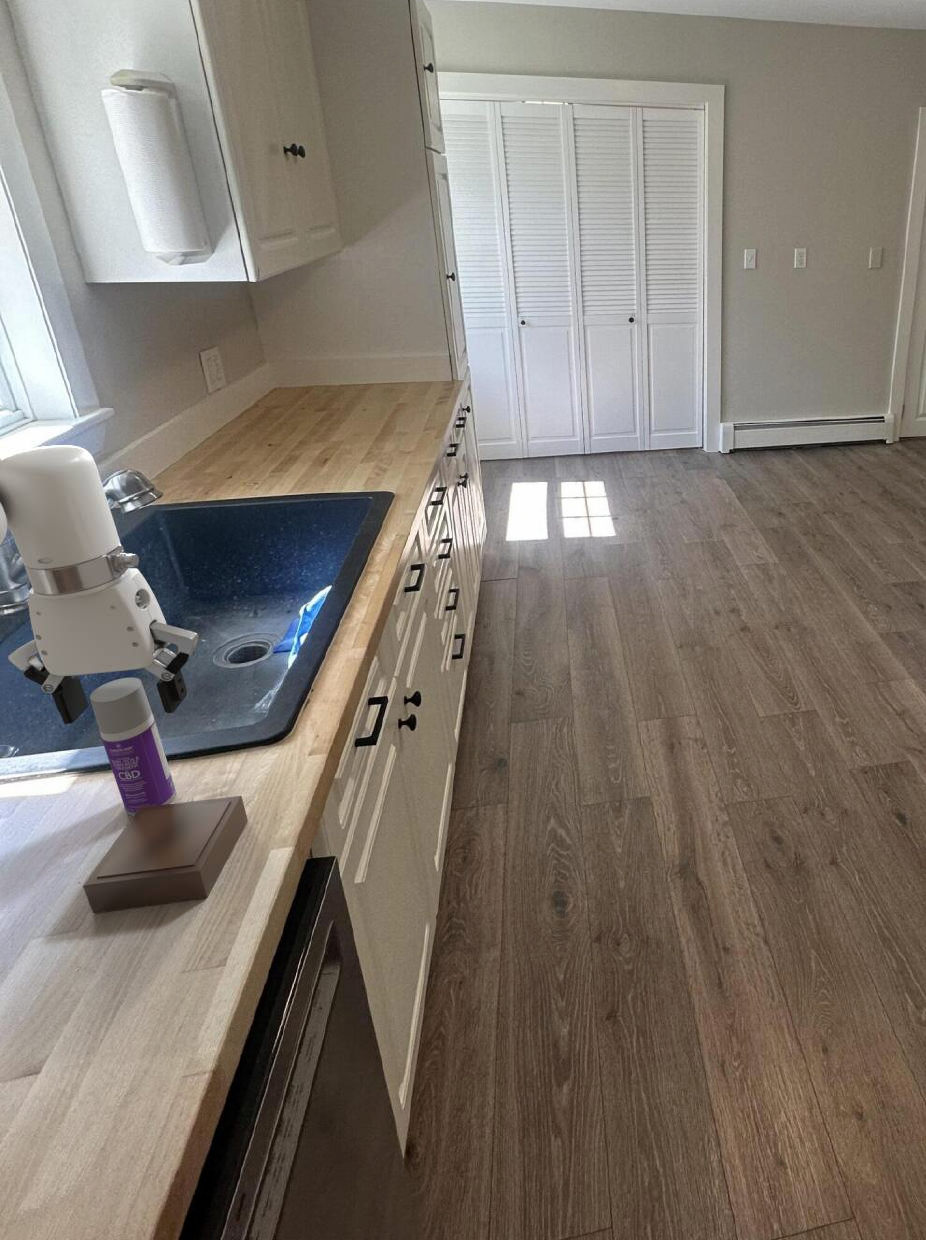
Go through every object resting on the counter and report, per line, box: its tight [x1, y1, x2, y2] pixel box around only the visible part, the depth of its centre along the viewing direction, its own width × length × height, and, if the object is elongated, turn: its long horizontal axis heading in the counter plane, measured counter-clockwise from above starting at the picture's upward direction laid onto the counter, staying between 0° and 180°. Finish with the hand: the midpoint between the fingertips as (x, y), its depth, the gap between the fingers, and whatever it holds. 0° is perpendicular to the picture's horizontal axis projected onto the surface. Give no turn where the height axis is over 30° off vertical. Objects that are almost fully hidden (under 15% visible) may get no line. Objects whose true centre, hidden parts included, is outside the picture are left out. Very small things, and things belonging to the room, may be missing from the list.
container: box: [89, 677, 177, 817], centre depth 81 cm, size 5×5×15 cm
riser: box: [82, 795, 249, 914], centre depth 75 cm, size 10×10×4 cm
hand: (127, 710), depth 80 cm, fingers open, 9 cm apart
